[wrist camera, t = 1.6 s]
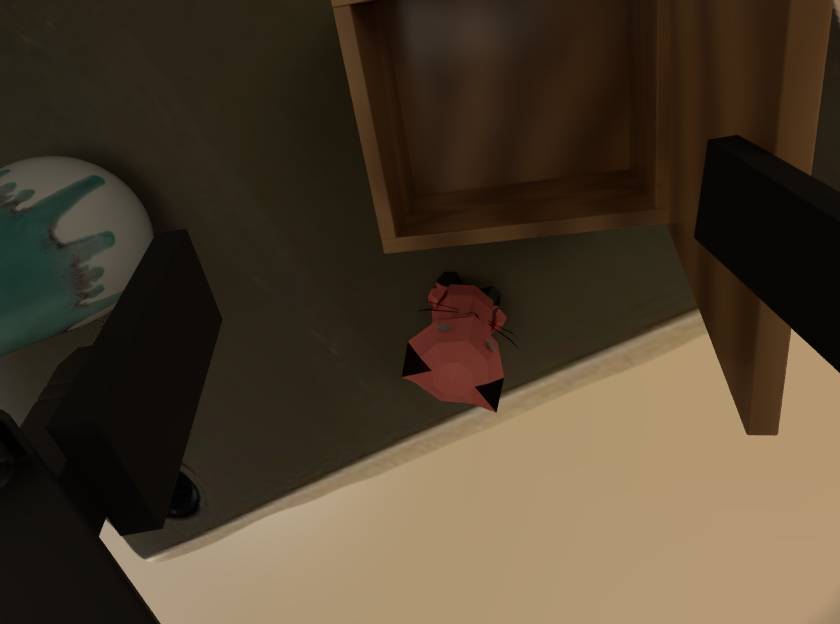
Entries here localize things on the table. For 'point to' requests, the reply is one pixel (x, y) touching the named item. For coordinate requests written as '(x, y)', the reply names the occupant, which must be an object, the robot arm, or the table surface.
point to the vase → (64, 246)
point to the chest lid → (758, 123)
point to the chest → (509, 115)
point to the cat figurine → (459, 345)
